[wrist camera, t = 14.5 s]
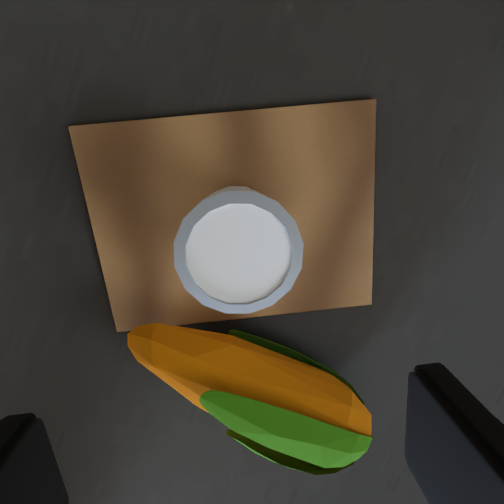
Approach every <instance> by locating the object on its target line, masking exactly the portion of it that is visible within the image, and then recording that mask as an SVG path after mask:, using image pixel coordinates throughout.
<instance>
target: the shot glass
mask: <svg viewBox="0 0 504 504" xmlns="http://www.w3.org/2000/svg"><path fill="white" fill-rule="evenodd" d="M303 246H304V244H303V241H302V238H301V235H300V232H299V229H298V226H297V224H296V221H295V220H294V219H293V218H292V217H291V215H290V214H289V213H288V212H287V211H286V210H285V209H284V208H283V207H282V206H281V205H280V204H279V202H277V201H275V200H273V199H271V198H269V197H267V196H265V195H263V194H261V193H259V192H257V191H255V190H252V189H250V188H248V187H246V186H228V187H226V188H223V189H221V190H218V191H216V192H214V193H212V194H211V195H209V196H208V197H206V198H205V199H203V200H202V201H201V202H200V203H199V204H198V205H197V206H196V207H195V208H194V209H193V210H192V211H191V212H190V213H189V214H188V215H187V216H186V217H184V218H183V220H182V223H181V225H180V228H179V230H178V233H177V235H176V238H175V240H174V267H175V269H176V271H177V273H178V276H179V278H180V280H181V282H182V284H183V286H184V288H185V289H186V290H187V291H188V292H189V293H190V294H191V295H192V296H193V297H195V298H196V299H197V300H198V301H199V302H200V303H201V304H202V305H204V306H207V307H210V308H212V309H215V310H218V311H220V312H223V313H226V314H250V313H253V312H256V311H258V310H261V309H264V308H266V307H269V306H272V305H273V304H275V303H276V302H277V301H278V300H279V299H280V298H282V297H283V296H284V295H285V294H286V293H287V292H288V291H290V290H291V288H292V286H293V284H294V282H295V280H296V278H297V277H298V275H299V273H300V271H301V269H302V259H303Z"/></svg>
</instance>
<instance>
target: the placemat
mask: <svg viewBox="0 0 504 504" xmlns="http://www.w3.org/2000/svg"><path fill="white" fill-rule="evenodd" d="M68 128H69V132H70V136H71V141H72V145H73V149H74V153H75V157H76V162H77V166H78V170H79V174H80V178H81V183H82V187H83V191H84V195H85V199H86V204H87V208H88V212H89V216H90V220H91V225H92V229H93V233H94V237H95V242H96V246H97V250H98V254H99V258H100V263H101V267H102V271H103V275H104V279H105V284H106V288H107V292H108V296H109V300H110V305H111V309H112V313H113V317H114V321H115V326H116V330H117V332H121V331H130V330H133V329H134V328H135V327H137V326H140V325H146V324H152V323H161V324H168V325H174V326H177V325H186V324H195V323H204V322H214V321H223V320H232V319H241V318H251V317H260V316H269V315H278V314H288V313H297V312H306V311H316V310H325V309H334V308H343V307H353V306H362V305H371V304H372V266H373V222H374V179H375V135H376V99H366V100H355V101H344V102H333V103H321V104H310V105H299V106H288V107H277V108H265V109H254V110H243V111H232V112H220V113H209V114H198V115H187V116H175V117H164V118H153V119H142V120H131V121H119V122H108V123H97V124H86V125H74V126H68ZM228 186H246V187H248V188H250V189H252V190H255V191H257V192H259V193H261V194H263V195H265V196H267V197H269V198H271V199H273V200H275V201H277V202H279V204H280V205H281V206H282V207H283V208H284V209H285V210H286V211H287V212H288V213H289V214H290V215H291V217H292V218H293V219H294V220H295V221H296V224H297V226H298V229H299V232H300V235H301V238H302V241H303V244H304V246H303V259H302V269H301V271H300V273H299V275H298V277H297V278H296V280H295V282H294V284H293V286H292V288H291V290H290V291H288V292H287V293H286V294H285V295H284V296H283V297H282V298H280V299H279V300H278V301H277V302H276V303H275V304H273V305H272V306H269V307H266V308H264V309H261V310H258V311H256V312H253V313H250V314H226V313H223V312H220V311H218V310H215V309H212V308H210V307H207V306H204V305H202V304H201V303H200V302H199V301H198V300H197V299H196V298H195V297H193V296H192V295H191V294H190V293H189V292H188V291H187V290H186V289H185V288H184V286H183V284H182V282H181V280H180V278H179V276H178V273H177V271H176V269H175V267H174V240H175V238H176V235H177V233H178V230H179V228H180V225H181V223H182V220H183V218H184V217H186V216H187V215H188V214H189V213H190V212H191V211H192V210H193V209H194V208H195V207H196V206H197V205H198V204H199V203H200V202H201V201H202V200H203V199H205V198H206V197H208V196H209V195H211V194H212V193H214V192H216V191H218V190H221V189H223V188H226V187H228Z"/></svg>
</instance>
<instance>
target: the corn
mask: <svg viewBox="0 0 504 504" xmlns="http://www.w3.org/2000/svg"><path fill="white" fill-rule="evenodd" d="M128 347H129V349H130V350H131V352H132V353H133V355H134V357H135V358H136V360H137V361H138V362H139V363H140V364H142V365H143V366H144V367H146V368H147V369H148V370H150V371H151V372H152V373H154V374H155V375H156V376H158V377H159V378H160V379H162V380H163V381H164V382H166V383H167V384H168V385H170V386H171V387H172V388H174V389H175V390H176V391H178V392H179V393H180V394H182V395H183V396H184V397H186V398H187V399H188V400H190V401H191V402H192V403H194V404H195V405H196V406H198V407H199V408H200V409H202V410H204V411H206V412H208V413H210V414H211V415H212V416H214V417H215V418H216V419H218V420H219V421H220V422H222V423H223V424H224V425H226V426H227V427H228V428H230V429H231V430H227V432H226V434H227V435H229V436H230V437H232V438H233V439H235V440H236V441H238V442H239V443H241V444H242V445H244V446H245V447H247V448H248V449H250V450H251V451H253V452H254V453H256V454H257V455H260V456H262V457H264V458H266V459H268V460H271V461H273V462H275V463H277V464H279V465H282V466H285V467H288V468H292V469H295V470H299V471H303V472H307V473H310V474H314V475H321V474H331V473H336V472H338V471H340V470H342V469H344V468H346V467H348V466H351V465H352V464H353V463H354V462H355V461H356V460H357V459H359V458H360V457H361V456H362V455H363V454H364V453H365V452H366V451H367V450H368V448H369V446H370V443H371V441H372V439H373V436H371V413H370V412H369V411H368V410H367V408H366V407H365V406H364V402H363V401H362V399H361V398H360V396H359V395H358V394H357V392H356V391H355V390H354V388H353V387H352V385H351V384H350V383H349V382H347V381H346V380H345V379H344V378H342V377H341V376H340V375H339V374H337V373H336V372H335V371H334V370H332V369H330V368H328V367H326V366H324V365H322V364H320V363H318V362H316V361H314V360H312V359H310V358H308V357H306V356H305V355H303V354H301V353H299V352H297V351H295V350H293V349H290V348H288V347H285V346H282V345H280V344H277V343H274V342H272V341H269V340H267V339H264V338H261V337H258V336H255V335H252V334H249V333H245V332H242V331H239V330H235V329H232V330H229V332H228V334H222V333H216V332H210V331H204V330H198V329H192V328H186V327H180V326H174V325H168V324H161V323H152V324H146V325H140V326H137V327H135V328H134V329H133V330H132V331H130V332H129V333H128Z"/></svg>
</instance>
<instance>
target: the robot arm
mask: <svg viewBox="0 0 504 504" xmlns="http://www.w3.org/2000/svg"><path fill="white" fill-rule="evenodd" d="M405 458H406V461H407V464H408V467H409V469H410V471H411V472H412V474H413V476H414V478H415V479H416V481H417V483H418V485H419V487H420V488H421V490H422V492H423V494H424V495H425V497H426V499H427V501H428V502H429V504H504V425H503V424H502V423H501V422H500V421H499V420H498V419H497V418H496V417H494V416H493V415H492V414H491V413H490V412H489V411H488V410H487V409H486V408H485V407H484V406H483V405H482V404H481V403H480V402H479V401H478V400H477V399H476V398H475V397H474V396H473V395H472V394H471V393H470V392H469V391H468V390H467V389H466V388H465V387H464V386H463V384H462V383H461V382H460V381H459V380H458V379H457V378H456V377H455V376H454V375H453V374H452V373H451V372H450V371H449V370H448V369H447V368H446V367H445V366H444V365H442V364H441V363H431V364H423V365H417V366H416V367H415V369H414V372H410V373H409V379H408V398H407V417H406V436H405ZM0 504H69V498H68V494H67V491H66V488H65V485H64V483H63V480H62V477H61V474H60V471H59V468H58V465H57V462H56V459H55V456H54V453H53V450H52V447H51V444H50V441H49V438H48V435H47V432H46V429H45V426H44V423H43V421H42V420H41V419H40V418H36V416H35V415H34V414H33V413H26V414H18V415H10V416H6V417H4V418H3V419H2V420H1V421H0Z"/></svg>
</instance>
